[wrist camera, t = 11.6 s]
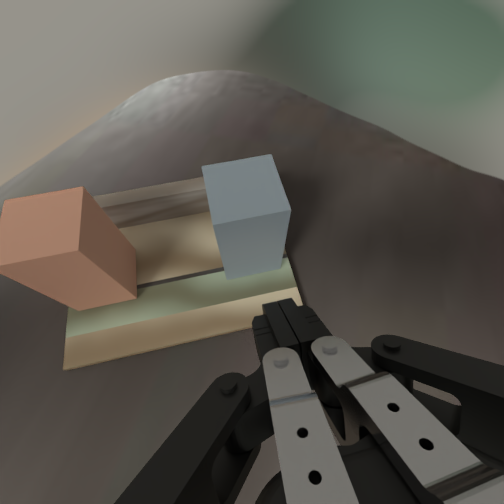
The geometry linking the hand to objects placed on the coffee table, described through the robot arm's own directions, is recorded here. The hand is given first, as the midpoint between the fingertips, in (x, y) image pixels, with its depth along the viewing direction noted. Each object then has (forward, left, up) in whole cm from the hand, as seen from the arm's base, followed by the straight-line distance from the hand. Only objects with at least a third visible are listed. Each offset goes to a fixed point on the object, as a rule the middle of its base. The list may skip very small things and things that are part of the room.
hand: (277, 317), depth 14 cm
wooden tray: (-9, +5, -10) cm, 15 cm away
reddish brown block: (-15, +4, -10) cm, 18 cm away
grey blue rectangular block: (-3, +9, -10) cm, 13 cm away
